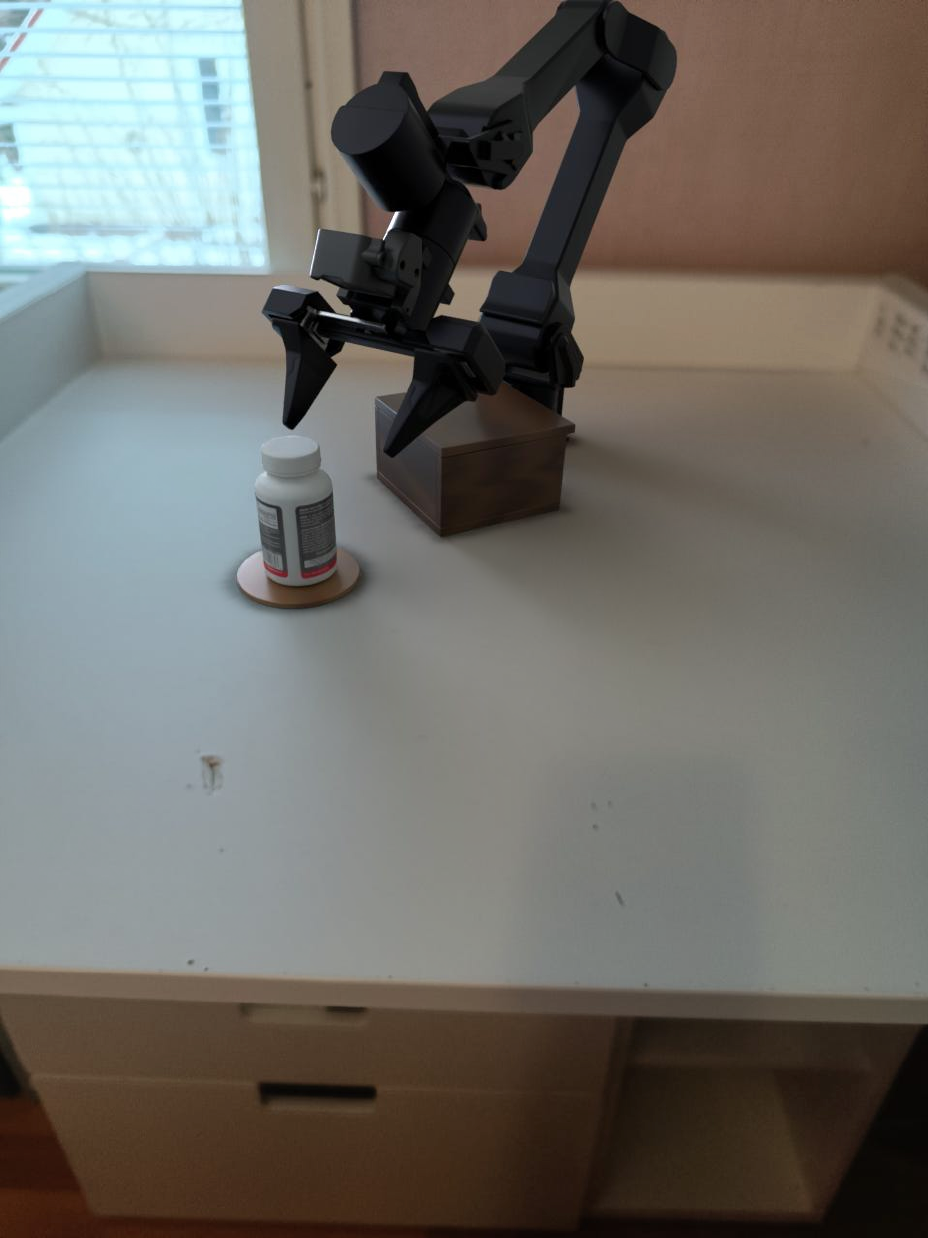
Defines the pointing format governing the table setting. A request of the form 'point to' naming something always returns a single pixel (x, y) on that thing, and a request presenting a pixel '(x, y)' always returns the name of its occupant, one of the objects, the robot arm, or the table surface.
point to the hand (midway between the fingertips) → (335, 440)
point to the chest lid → (486, 422)
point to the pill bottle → (295, 512)
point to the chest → (473, 481)
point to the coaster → (283, 596)
